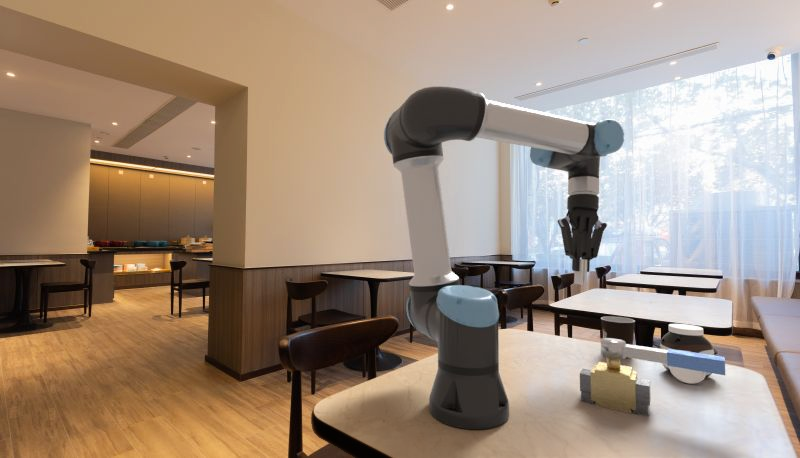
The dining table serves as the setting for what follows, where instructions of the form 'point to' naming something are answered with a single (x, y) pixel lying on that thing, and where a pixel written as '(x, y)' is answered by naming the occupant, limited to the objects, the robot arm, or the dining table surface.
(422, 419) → the dining table surface
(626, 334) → the coffee mug
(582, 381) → the valve body
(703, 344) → the spread jar
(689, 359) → the lever
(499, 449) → the dining table surface
